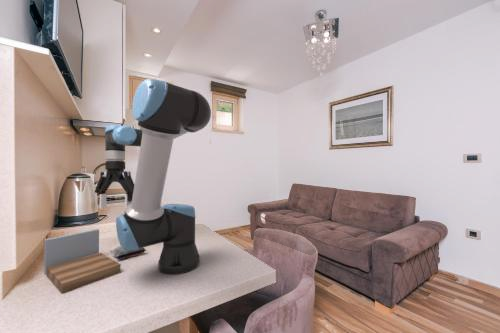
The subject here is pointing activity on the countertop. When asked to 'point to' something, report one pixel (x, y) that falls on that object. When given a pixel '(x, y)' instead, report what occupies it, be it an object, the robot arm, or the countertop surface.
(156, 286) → the countertop surface
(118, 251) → the packaged food
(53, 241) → the backboard
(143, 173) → the robot arm
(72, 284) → the plinth
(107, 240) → the countertop surface
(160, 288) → the countertop surface
